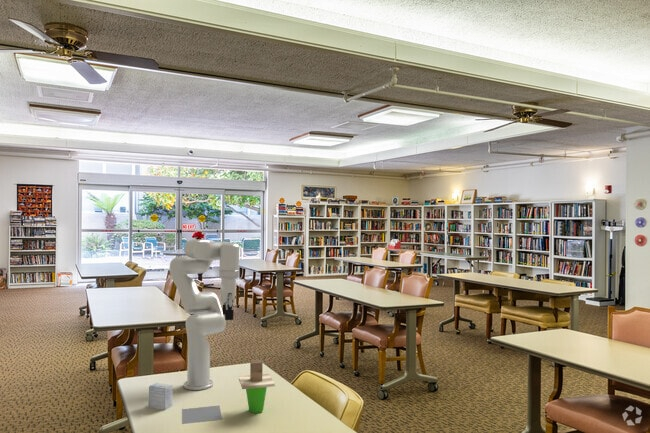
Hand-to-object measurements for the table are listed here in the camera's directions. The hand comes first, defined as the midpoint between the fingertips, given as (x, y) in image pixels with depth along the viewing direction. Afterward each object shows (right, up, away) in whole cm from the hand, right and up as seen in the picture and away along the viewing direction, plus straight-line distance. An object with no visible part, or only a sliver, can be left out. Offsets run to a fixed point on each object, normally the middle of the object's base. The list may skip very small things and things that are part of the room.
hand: (227, 317), depth 192 cm
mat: (-7, -34, -13) cm, 37 cm away
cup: (+13, -34, -9) cm, 38 cm away
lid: (+13, -23, -9) cm, 28 cm away
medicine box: (-25, -34, -6) cm, 43 cm away
